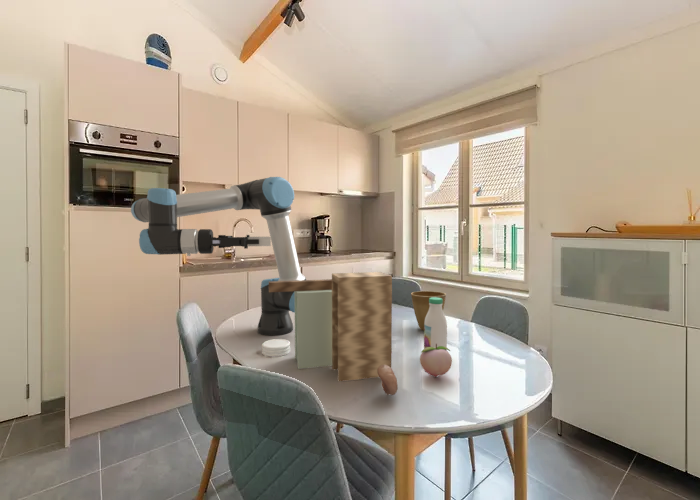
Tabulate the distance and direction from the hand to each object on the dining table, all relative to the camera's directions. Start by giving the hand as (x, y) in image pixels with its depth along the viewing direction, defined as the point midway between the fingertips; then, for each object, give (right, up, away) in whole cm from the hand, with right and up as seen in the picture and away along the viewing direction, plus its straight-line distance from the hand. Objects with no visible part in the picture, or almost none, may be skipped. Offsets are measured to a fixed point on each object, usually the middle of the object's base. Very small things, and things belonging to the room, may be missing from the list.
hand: (270, 241), depth 110 cm
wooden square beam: (+11, -16, +2) cm, 20 cm away
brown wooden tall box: (+29, -40, -5) cm, 50 cm away
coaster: (-1, -40, +13) cm, 42 cm away
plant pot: (+60, -38, +42) cm, 82 cm away
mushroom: (+36, -41, -20) cm, 58 cm away
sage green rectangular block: (+14, -40, +4) cm, 42 cm away
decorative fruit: (+51, -41, -9) cm, 66 cm away
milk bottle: (+55, -40, +10) cm, 69 cm away
